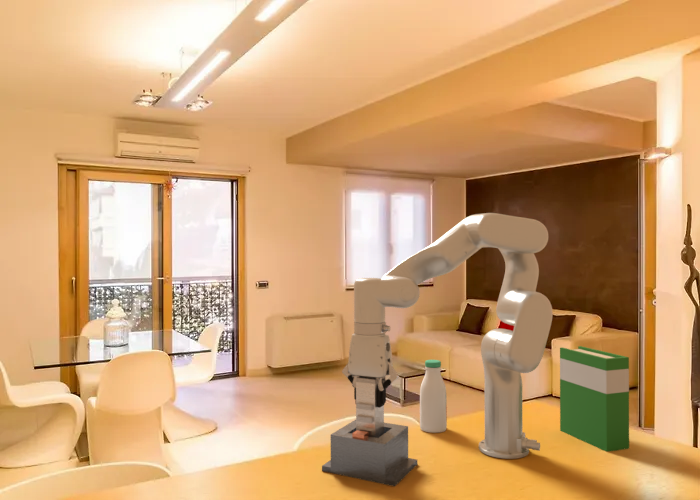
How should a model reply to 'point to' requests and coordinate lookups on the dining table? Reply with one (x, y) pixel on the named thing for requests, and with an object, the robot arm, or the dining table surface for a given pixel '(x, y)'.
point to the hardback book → (595, 397)
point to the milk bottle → (433, 399)
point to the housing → (371, 454)
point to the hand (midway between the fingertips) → (370, 403)
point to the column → (368, 407)
